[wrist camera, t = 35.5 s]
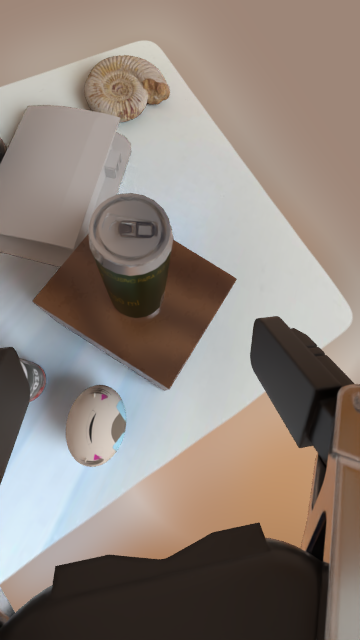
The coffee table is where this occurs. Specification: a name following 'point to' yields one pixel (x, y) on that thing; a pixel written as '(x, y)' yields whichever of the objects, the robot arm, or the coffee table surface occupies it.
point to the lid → (146, 332)
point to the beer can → (132, 252)
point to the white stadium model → (57, 180)
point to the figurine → (95, 425)
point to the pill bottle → (34, 378)
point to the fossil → (124, 86)
